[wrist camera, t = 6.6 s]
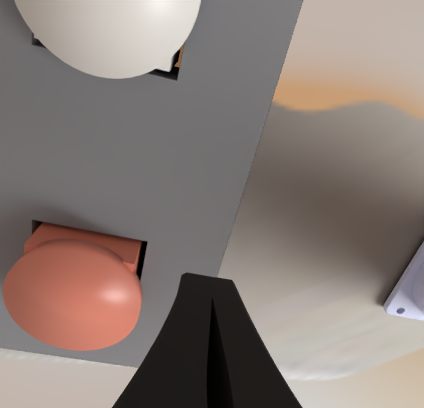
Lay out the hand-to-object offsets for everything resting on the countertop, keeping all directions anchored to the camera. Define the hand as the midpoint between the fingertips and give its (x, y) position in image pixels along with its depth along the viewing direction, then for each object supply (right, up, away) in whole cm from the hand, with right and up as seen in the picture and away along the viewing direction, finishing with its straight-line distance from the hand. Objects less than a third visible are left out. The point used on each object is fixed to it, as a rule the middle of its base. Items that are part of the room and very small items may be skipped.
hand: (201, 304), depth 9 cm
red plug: (-6, +1, +9) cm, 11 cm away
